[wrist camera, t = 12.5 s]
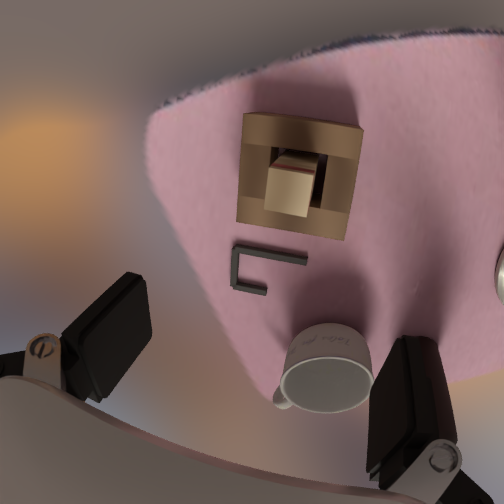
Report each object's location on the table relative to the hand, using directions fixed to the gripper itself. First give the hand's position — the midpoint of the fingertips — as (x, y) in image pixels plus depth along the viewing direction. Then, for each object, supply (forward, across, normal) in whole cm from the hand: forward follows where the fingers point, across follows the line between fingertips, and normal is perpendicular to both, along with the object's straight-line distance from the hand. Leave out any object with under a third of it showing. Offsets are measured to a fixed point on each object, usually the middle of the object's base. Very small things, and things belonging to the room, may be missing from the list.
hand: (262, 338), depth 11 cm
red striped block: (+23, +2, -1) cm, 23 cm away
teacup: (+23, -5, +21) cm, 32 cm away
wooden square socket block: (+23, +2, -1) cm, 23 cm away
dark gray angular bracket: (+23, +4, +11) cm, 26 cm away
